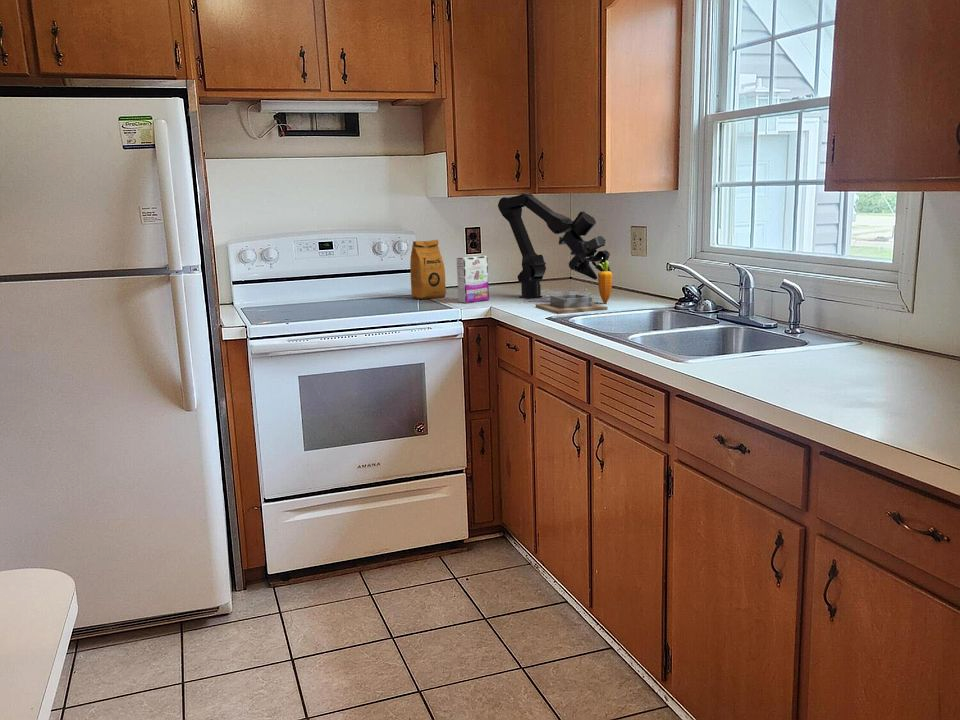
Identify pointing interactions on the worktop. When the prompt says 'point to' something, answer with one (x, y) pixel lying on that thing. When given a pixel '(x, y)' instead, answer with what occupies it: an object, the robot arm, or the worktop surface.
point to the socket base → (570, 304)
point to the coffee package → (427, 270)
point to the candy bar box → (472, 279)
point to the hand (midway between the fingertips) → (603, 277)
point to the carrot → (605, 282)
